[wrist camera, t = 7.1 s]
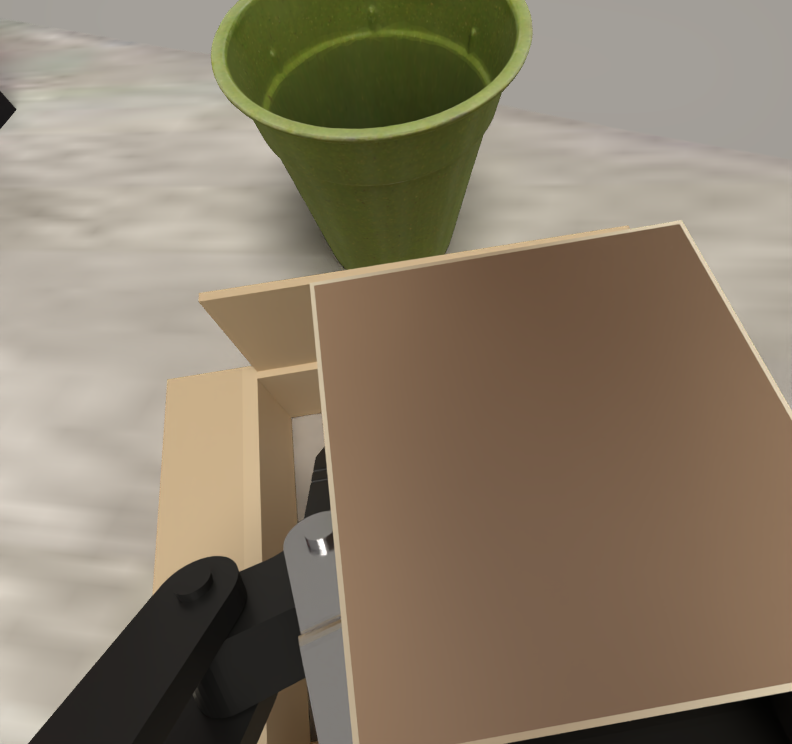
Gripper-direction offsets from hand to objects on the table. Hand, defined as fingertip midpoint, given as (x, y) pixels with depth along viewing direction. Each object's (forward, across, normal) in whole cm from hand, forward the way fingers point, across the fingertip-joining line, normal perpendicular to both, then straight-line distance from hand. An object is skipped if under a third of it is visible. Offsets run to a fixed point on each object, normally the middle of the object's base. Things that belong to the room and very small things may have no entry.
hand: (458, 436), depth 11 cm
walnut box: (+4, 0, +6) cm, 7 cm away
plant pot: (+18, 0, -4) cm, 18 cm away
